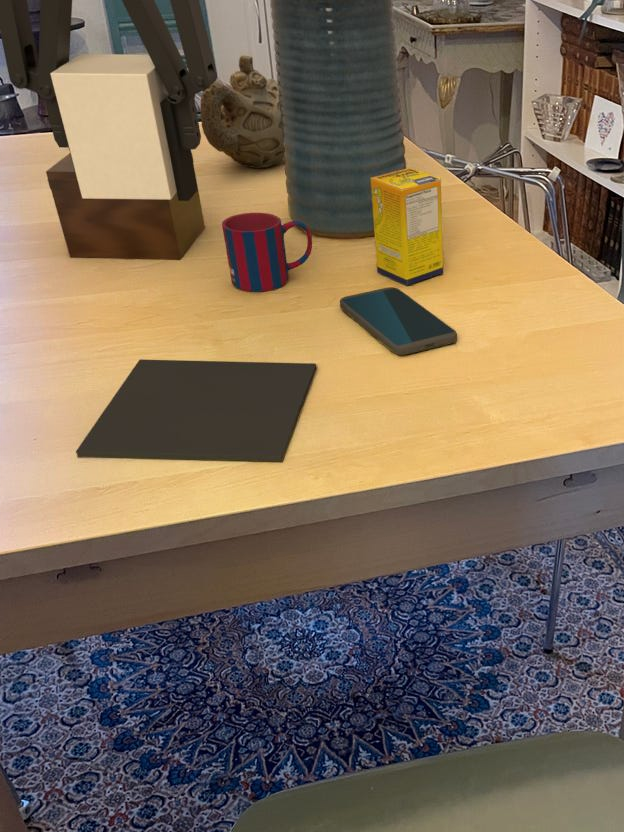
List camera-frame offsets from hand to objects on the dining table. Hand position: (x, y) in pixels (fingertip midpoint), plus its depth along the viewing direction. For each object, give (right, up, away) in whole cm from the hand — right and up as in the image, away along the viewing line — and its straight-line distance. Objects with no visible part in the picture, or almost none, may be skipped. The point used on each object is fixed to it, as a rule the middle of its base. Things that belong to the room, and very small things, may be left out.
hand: (140, 193), depth 71 cm
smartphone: (+17, +1, +32) cm, 36 cm away
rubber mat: (0, -12, +17) cm, 21 cm away
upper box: (0, 0, 0) cm, 1 cm away
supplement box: (+17, +11, +43) cm, 47 cm away
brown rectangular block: (-18, +18, +50) cm, 56 cm away
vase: (+8, +24, +57) cm, 62 cm away
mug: (+1, +9, +41) cm, 42 cm away
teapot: (-9, +40, +75) cm, 86 cm away
